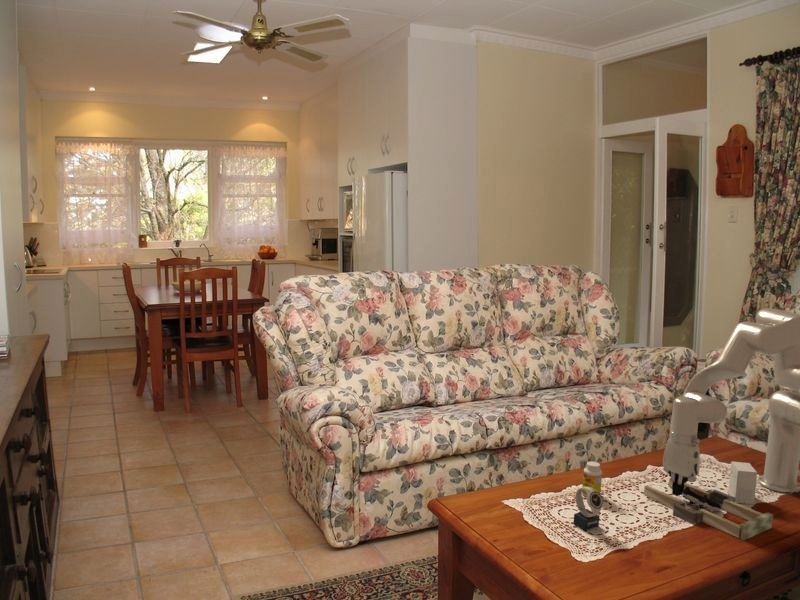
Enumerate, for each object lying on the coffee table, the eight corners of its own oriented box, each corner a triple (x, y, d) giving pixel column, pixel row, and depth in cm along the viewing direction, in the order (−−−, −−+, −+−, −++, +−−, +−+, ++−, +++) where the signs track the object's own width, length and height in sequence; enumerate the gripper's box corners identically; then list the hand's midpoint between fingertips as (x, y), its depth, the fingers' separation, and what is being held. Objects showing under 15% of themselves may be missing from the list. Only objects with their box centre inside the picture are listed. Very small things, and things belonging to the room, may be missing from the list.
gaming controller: (686, 505, 217) (675, 493, 214) (693, 493, 218) (683, 481, 215) (715, 519, 208) (705, 507, 204) (723, 507, 208) (713, 495, 205)
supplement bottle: (578, 492, 219) (580, 461, 217) (592, 490, 221) (594, 459, 219) (589, 499, 214) (591, 468, 212) (604, 497, 216) (606, 465, 214)
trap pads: (713, 500, 216) (713, 499, 216) (728, 507, 212) (728, 506, 212) (678, 514, 206) (678, 513, 206) (693, 521, 202) (693, 520, 202)
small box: (754, 505, 214) (757, 472, 212) (734, 503, 215) (738, 470, 213) (746, 494, 221) (750, 462, 220) (727, 492, 222) (731, 460, 221)
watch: (590, 533, 193) (592, 496, 191) (568, 521, 199) (571, 485, 198) (604, 529, 195) (607, 492, 194) (583, 517, 202) (585, 481, 200)
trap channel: (677, 483, 228) (679, 472, 227) (778, 524, 201) (779, 511, 200) (636, 498, 216) (637, 486, 215) (737, 543, 189) (738, 529, 189)
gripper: (712, 443, 209) (706, 501, 212) (669, 428, 221) (664, 483, 224) (697, 447, 205) (691, 506, 208) (654, 432, 217) (649, 488, 220)
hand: (677, 494), depth 216 cm, fingers closed
